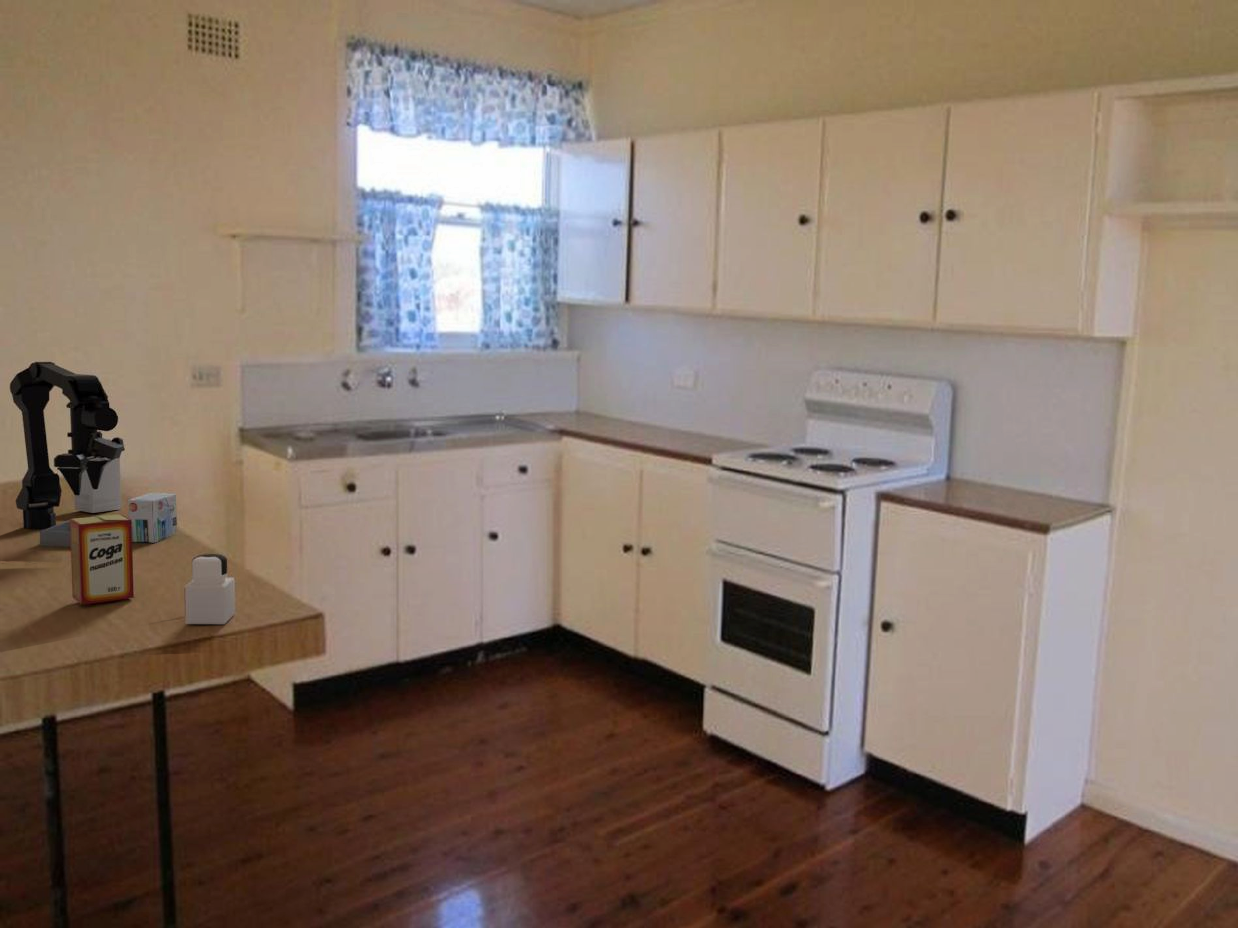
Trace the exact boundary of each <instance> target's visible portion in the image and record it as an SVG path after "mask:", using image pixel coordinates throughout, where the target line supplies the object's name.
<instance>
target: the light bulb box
mask: <svg viewBox="0 0 1238 928" xmlns="http://www.w3.org/2000/svg"><path fill="white" fill-rule="evenodd" d="M177 510H178V509H177V494H176V493H166V492H165V493H162V492H150V493H146V494H144V495H140V496H138V497H133V498H131V499H128V500H127V514H128V515H127V516H128V517H127V518H129V519H131V521H132V543H151V544H152V543H154V544H155V543H157V542H161V541H163V540H165V538H166V539H168V538H167V537H169V538H170V536H171V535H174V534H176V533H177V532H178V517H177V516H178V515H177V514H178V513H177V512H178V511H177ZM176 535H177V534H176ZM174 536H175V535H174ZM171 537H172V536H171Z"/></svg>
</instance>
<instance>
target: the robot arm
mask: <svg viewBox="0 0 1238 928" xmlns="http://www.w3.org/2000/svg"><path fill="white" fill-rule="evenodd" d="M102 384H103V383H102V382H101V381H100V379H99V378H98V376H96V375H94V374H83V373H82V374H80V373H75V372H74V371H73V372H72V371H70V370H68V369H66V368H64V367H61V366H59V365H56V363H55V362H52V361H34V362H31V364H30V365H29V366H28V367H27V368H25V369H23V370H22V371H20V372H18V373H16V375H14V377H13V379H12V380H11V382H10V383H9V391H10V393H11V397H12V400H13V403H14V405H15V406H16V407H17V408H18V409H19V411H20V412H21V415H22V426H23V434H24V444H25V453H26V463H27V470H26V473H25V474H24V476H23V477H22V479H21V484H22V485H21V487H22V488H21V489H20V491H19V493H18V495H17V497H16V499H15V505H16V509H18V510H22V519H23V520H22V524H23V529H27V530H45V529H47V528H50V527H53V526H55V525H57V520H56V518H57V516H56V515H57V514H56V512H55V510H54V507H56V508H57V507H58V508H60V502H61V498H62V497H61V496H62V492H63V491H62V490H63V489H62V486H61V483H60V482H61V481H60V475H59V474H58V473H57V472H54V470H53V469H52V468H51V467H50V465H51V464H50V458H49V457H50V456H49V448H48V439H47V431H46V429H47V428H46V419H45V412H44V411H45V409H46V407H47V405H48V403H49V402H50V392H51V391H52V390H53V388H55V387H57V388H58V389H61V393H62V395H63V396H64V397H66V398H67V399H68V400H69V401H68V402H67V404H66V408H67V409H69V412H70V413H69V418H70V419H69V420H70V432H67V438H70V439H71V440H70V441H71V444H70V445H71V447H70V448H71V449H68V450H67V452H66V453H61V454H56V455H55V457H53V468H54V467H55V468H56V469H57V470H58V471H60V472H59V473H60V474H61V475H62V477H63V478H64V480H65V481H66V483H67V485H68V486H69V488H70V490H71V491H72V493H73V496H74V495H80V491H81V480H82V473H83V472H84V471H85V470H86V471H87V474H88V477H89V480H90V483H91V486H92V488H93V489H98V487H99V483H100V480H101V476H102V473H103V470H104V467H105V466H106V465H107V464H108V463H110V462H111V461H112V460H115V459H116V458H121V455H122V452H125V444H124V438H122V437H119V436H116V437H113V438H112V439H107V438H103V433H102V432H110V431H112V430H114V429H115V428H116V426H117V425H118V422H119V416H118V414H117V412H116V410H115V409H114V408H112V407H110V401H109V399H108V398H109V396H108V394H107V393H106V391H105V389H104V386H103V385H102ZM106 458H107V459H110V460H106ZM84 466H85V467H84Z"/></svg>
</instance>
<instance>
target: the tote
mask: <svg viewBox="0 0 1238 928" xmlns="http://www.w3.org/2000/svg"><path fill="white" fill-rule="evenodd" d="M39 546H40V547H55V548H56V547H59V548H63V547H64V548H65V547H66V548H71V541H70V519H69V520H66V521H64V522H61V523H59V524H56V525H55V526H53V527H50V528H47V529H41V531H39Z"/></svg>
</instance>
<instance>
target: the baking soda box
mask: <svg viewBox="0 0 1238 928" xmlns="http://www.w3.org/2000/svg"><path fill="white" fill-rule="evenodd" d="M69 520H70V541H71V547H70V564H71V565H70V566H71V593H72V598H73V600H75V601H76V602H78V603H79V604H80V605H81V606H82V605H83V606H84V605H90V604H91V605H92V604H96V603H97V604H98V603H105V602H112V601H119V600H126V599H134V561H133V558H134V557H133V542H132V521H131V519H129V518H128V517H127V516H126V515H123V514H122V513H121V514H106V515H105V514H104V515H96V516H90V517H89V516H87V517H78V518H75V517H74V518H70V519H69Z"/></svg>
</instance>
